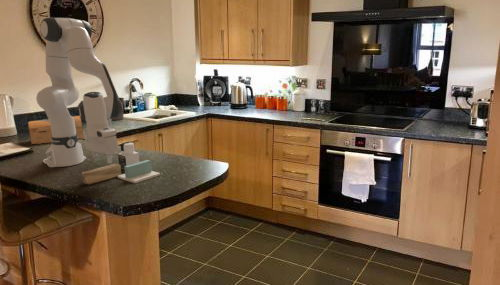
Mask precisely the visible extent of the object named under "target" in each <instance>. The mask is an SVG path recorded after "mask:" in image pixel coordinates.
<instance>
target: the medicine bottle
mask: <svg viewBox="0 0 500 285" xmlns="http://www.w3.org/2000/svg"><path fill="white" fill-rule="evenodd" d="M120 151H121V152H117V159H118V164H119V165H121V170H122V169H123V171H125V169H124V166H128V165H131V164H135V163H138V162H140V155H139V152H137V151H135V144H134V142H132V141H125V142H122V143H121V144H120Z"/></svg>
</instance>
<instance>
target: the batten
mask: <svg viewBox="0 0 500 285" xmlns="http://www.w3.org/2000/svg"><path fill="white" fill-rule="evenodd" d="M81 174H82V175H81V176H82V182H83V184H85V185H87V184H88V186H89V184H90V185H92V184H95V183H99V182H102V181H106V180H110V179H112V178H116V177H117V178H118V175H122V174H123V173H122V168H121V165H119V163H110V164H109V165H105V166H102V167H97V168H92V169H91V170H90V169H89V170H86V171H83V172H81Z"/></svg>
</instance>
